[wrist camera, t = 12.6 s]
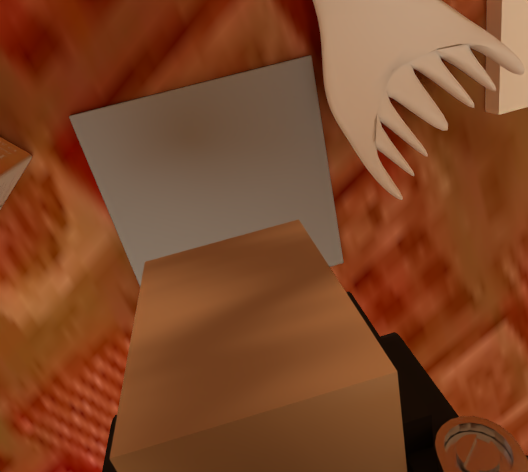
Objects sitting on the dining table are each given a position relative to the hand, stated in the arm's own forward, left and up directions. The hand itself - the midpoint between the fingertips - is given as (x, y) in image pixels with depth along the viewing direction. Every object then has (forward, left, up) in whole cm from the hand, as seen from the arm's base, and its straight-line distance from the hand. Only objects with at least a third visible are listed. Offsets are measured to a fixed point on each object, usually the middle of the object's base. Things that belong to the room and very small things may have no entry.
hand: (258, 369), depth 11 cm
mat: (0, 0, -14) cm, 14 cm away
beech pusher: (0, -1, -1) cm, 2 cm away
